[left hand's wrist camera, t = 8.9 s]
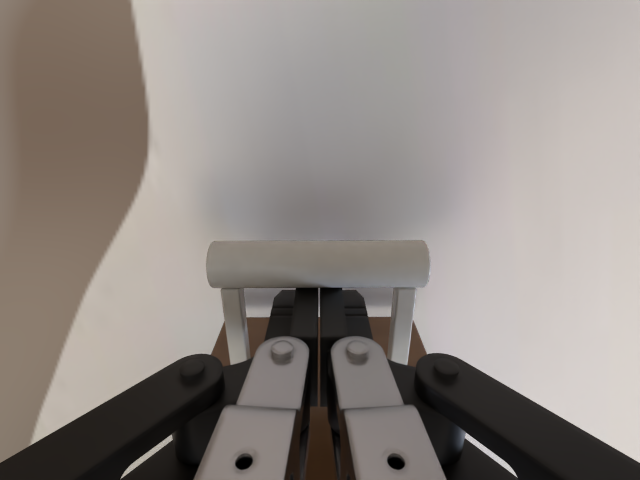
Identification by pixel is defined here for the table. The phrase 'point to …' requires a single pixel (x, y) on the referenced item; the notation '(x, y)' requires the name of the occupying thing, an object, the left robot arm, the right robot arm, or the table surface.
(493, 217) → the table surface
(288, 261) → the drawer
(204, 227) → the table surface
